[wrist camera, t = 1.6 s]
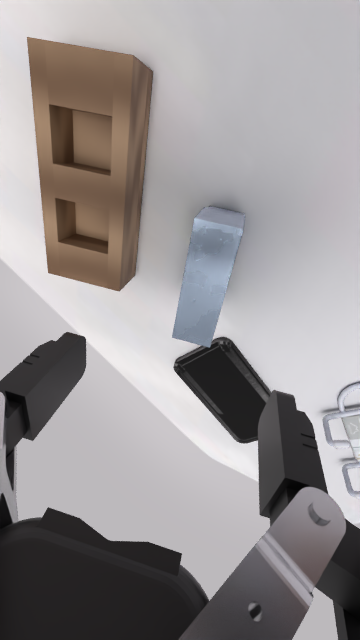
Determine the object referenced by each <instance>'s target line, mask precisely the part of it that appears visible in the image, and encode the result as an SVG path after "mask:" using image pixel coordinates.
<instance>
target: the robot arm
mask: <svg viewBox="0 0 360 640" xmlns="http://www.w3.org/2000/svg"><path fill="white" fill-rule="evenodd" d="M85 368H86V339H85V337H84V336H80V335H77V334H73V333H69V332H66V333H64V334H63V335H62V337H60V338H59V339H58V340H57V341H53V340H51V341H49V342H47V343H44V344H42V345H40V346H39V347H38V348H36V349H35V350H34V351H33V352H32V353H31V354H30V356H27V357H26V358H25V359H24V360H23V362H22V363H20V364H19V365H17V366H16V367H15V368H14V369H13V370H12V371H11V372H10V373H9V374H7V375H6V376H5V377H4V378H3V379H2V380H1V381H0V640H292V638H293V637H294V635H295V633H296V631H297V629H298V627H299V626H300V624H301V622H302V620H303V619H304V617H305V615H306V613H307V611H308V609H309V607H310V605H311V603H312V601H313V595H312V592H313V589H314V587H316V588H317V589H318V590H320V591H321V592H323V593H324V594H325V595H326V596H328V597H329V598H330V599H332V600H333V605H334V612H335V619H336V627H337V634H338V640H360V529H359V528H357V527H356V526H354V525H353V524H351V523H350V522H349V521H348V520H346V519H345V518H344V515H343V513H342V511H341V509H340V507H339V506H338V504H337V503H336V502H335V501H334V500H333V499H332V498H331V497H330V496H329V494H328V491H327V487H326V482H325V478H324V474H323V469H322V465H321V460H320V456H319V451H318V450H317V449H318V447H317V442H316V440H315V434H314V429H313V425H312V423H311V422H310V420H309V418H308V417H307V415H306V414H305V412H301V411H298V410H297V409H296V403H295V398H294V396H293V395H290V394H287V393H283V392H279V391H276V390H274V391H272V393H271V395H270V397H269V399H268V401H267V403H266V405H265V407H264V410H263V412H262V414H261V416H260V419H259V424H258V459H259V501H260V503H259V504H260V515H261V516H264V517H268V518H270V528H269V529H268V531H267V532H266V533H265V534H264V535H263V536H262V537H261V538H260V540H259V541H258V542H257V543H256V544H255V546H254V547H253V548H252V549H251V551H250V552H249V553H248V554H247V556H246V557H245V558H244V559H243V560H242V562H241V563H240V564H239V566H238V567H237V568H236V569H235V570H234V572H233V573H232V574H231V575H230V576H229V578H228V579H227V580H226V581H225V583H224V584H223V585H222V586H221V588H220V589H219V590H218V591H217V592H216V594H215V595H214V596H213V598H212V599H211V600H210V601H209V599H208V597H207V596H206V594H205V592H204V590H203V589H202V587H201V586H200V584H199V583H198V582H197V581H196V579H195V578H194V577H193V576H192V575H191V574H190V573H189V572H188V571H187V570H186V569H185V568H184V567H183V566H181V565H180V561H181V555H182V554H181V553H179V552H176V551H173V550H170V549H167V548H164V547H161V546H158V545H155V544H153V543H149V542H130V541H110V540H107V539H106V538H104V537H103V536H102V535H101V534H99V533H98V532H97V531H95V530H94V529H93V528H92V527H90V526H89V525H88V524H86V523H85V522H84V521H82V520H81V519H80V518H77V517H74V516H71V515H69V514H65V513H63V512H60V511H57V510H54V509H51V508H47V510H46V512H45V514H44V515H43V517H42V518H30V519H26V520H22V521H18V511H17V503H16V455H17V453H16V451H17V450H16V445H17V444H18V442H19V441H20V440H21V439H22V437H23V438H26V439H29V440H32V441H33V440H34V439H35V437H36V436H37V435H38V434H39V432H40V431H41V430H42V428H43V427H44V426H45V425H46V423H47V422H48V421H49V419H50V418H51V417H52V415H53V414H54V413H55V412H56V410H57V409H58V408H59V406H60V405H61V404H62V402H63V401H64V400H65V398H66V397H67V396H68V394H69V393H70V392H71V390H72V389H73V388H74V387H75V385H76V384H77V383H78V381H79V380H80V379H81V377H82V376H83V373H84V371H85Z"/></svg>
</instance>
